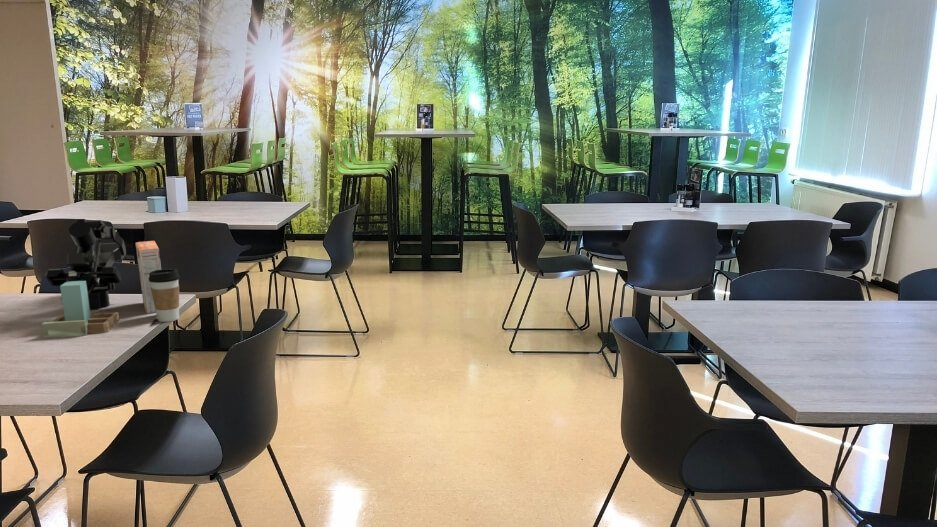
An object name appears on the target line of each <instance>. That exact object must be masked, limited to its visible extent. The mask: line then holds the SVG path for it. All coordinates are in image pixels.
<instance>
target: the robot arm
mask: <svg viewBox="0 0 937 527" xmlns="http://www.w3.org/2000/svg"><path fill="white" fill-rule="evenodd" d="M68 233H69V235H70V237H71V239H72V240H73V241H72V242H74V244H75V246H76V247H77V251H76V252H70V253H69V252H68V253H67V262H66V263H67V266H70V270H71V271H68V272H65V270H63V268H50V269H47V270H46V272H45V276H44V277H45V279H46V280H47V281H48V282H49V284H50V285H51V286H53V287H60V286H61V285H62V284H64V283H65V282H70V281H86V285H87V292H88V300H89V307H90V311H91V310H92V311H95V310H96V311H97V310H100V309H104V308H108V307H110V306H113V305H115V304H111V302H110V294H109V292H110V291H113V290H115V288H116V287H115V284H120V283H121V282H122V274H121V273H120V271H119V269H118V267H117V266H113V265H114V263H115V262H119V261H122V260H123V259H124V258H125V256H126V255H127V249H126V248H127V247H126V244H125V241H124V238H122V236H120V235H119V234H118V233H117V232H116V229H115V227H112V226H107V225H106V223H105V222H103V220H102V219H101V220H100V219H99V220H98V219H97V220H96V219H95V220H87V219H85V218H77V222H74V223H72V224H70V226H69V227H68ZM111 239H112V241H113V242H107V243H106V242H105V243H102V242H101V240H111Z"/></svg>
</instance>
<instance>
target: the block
mask: <svg viewBox="0 0 937 527" xmlns="http://www.w3.org/2000/svg"><path fill="white" fill-rule="evenodd" d="M59 287H60V288H59V289H60V294H61V301H62V303H61V304H62V309H63V314H64V317H65V321H77V320H86V324H87V323H88V320H89V319H90V318H92V316H91V310H90V307H89V300H88V292H87V285H86V281H70V282H69V281H68V282H65V283H64V284H62V285H61V286H59Z"/></svg>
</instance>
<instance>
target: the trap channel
mask: <svg viewBox="0 0 937 527" xmlns="http://www.w3.org/2000/svg"><path fill="white" fill-rule="evenodd" d="M119 322H120V317H119V311H118V312H104V313H102V311H96V312H95V313H94V314H93V317H91V318H90V319H89V320H88V323H87V324H86V320H77V321H65V317H64V313H62V314H60V315H58V317H56V318H55V319H54V320H52V321H47V322H46V321H45V322H43V323H42V324H41V327H42V334H43V339H50V338H51V339H53V338H64V337H65V338H66V337H80V336H81V337H82V336H88V334H97V333H98V334H99V333H109V332H110V331H111V330H112V329H113V328H114V327H115V326H116V325H117V324H118V323H119Z"/></svg>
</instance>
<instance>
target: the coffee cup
mask: <svg viewBox="0 0 937 527" xmlns="http://www.w3.org/2000/svg"><path fill="white" fill-rule="evenodd" d="M179 279H180V274H179V271H178V269H177V268H163V269H162V268H161V270H155V271H152V272H150V273H149V282H150V283H151V291H152V296H153V300H154V305H155V309H156V312H155V313H156V319H157V321H158V322H161V323H162V322H163V323H168V322H169V323H170V322H173V321H177V320H178V319H180V284H179Z"/></svg>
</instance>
